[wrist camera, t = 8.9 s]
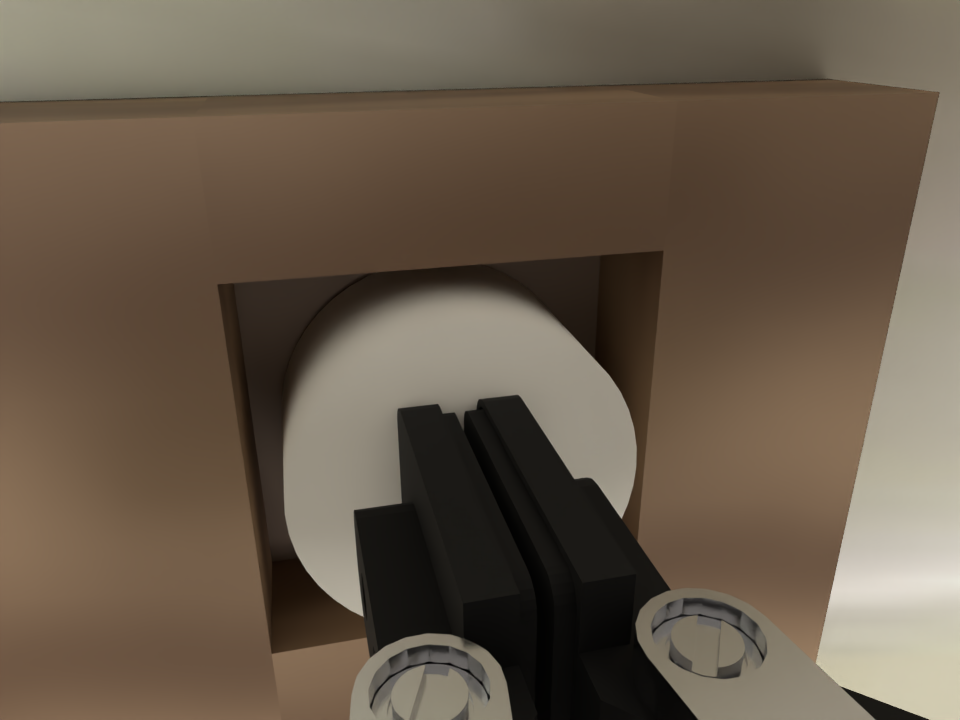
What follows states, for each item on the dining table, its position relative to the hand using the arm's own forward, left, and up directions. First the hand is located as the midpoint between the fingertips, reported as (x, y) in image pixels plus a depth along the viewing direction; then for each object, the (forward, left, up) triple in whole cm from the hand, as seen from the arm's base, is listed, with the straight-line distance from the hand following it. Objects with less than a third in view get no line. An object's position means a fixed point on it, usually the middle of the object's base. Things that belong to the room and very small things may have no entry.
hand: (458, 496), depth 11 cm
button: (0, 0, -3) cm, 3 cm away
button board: (+9, 0, -3) cm, 9 cm away
